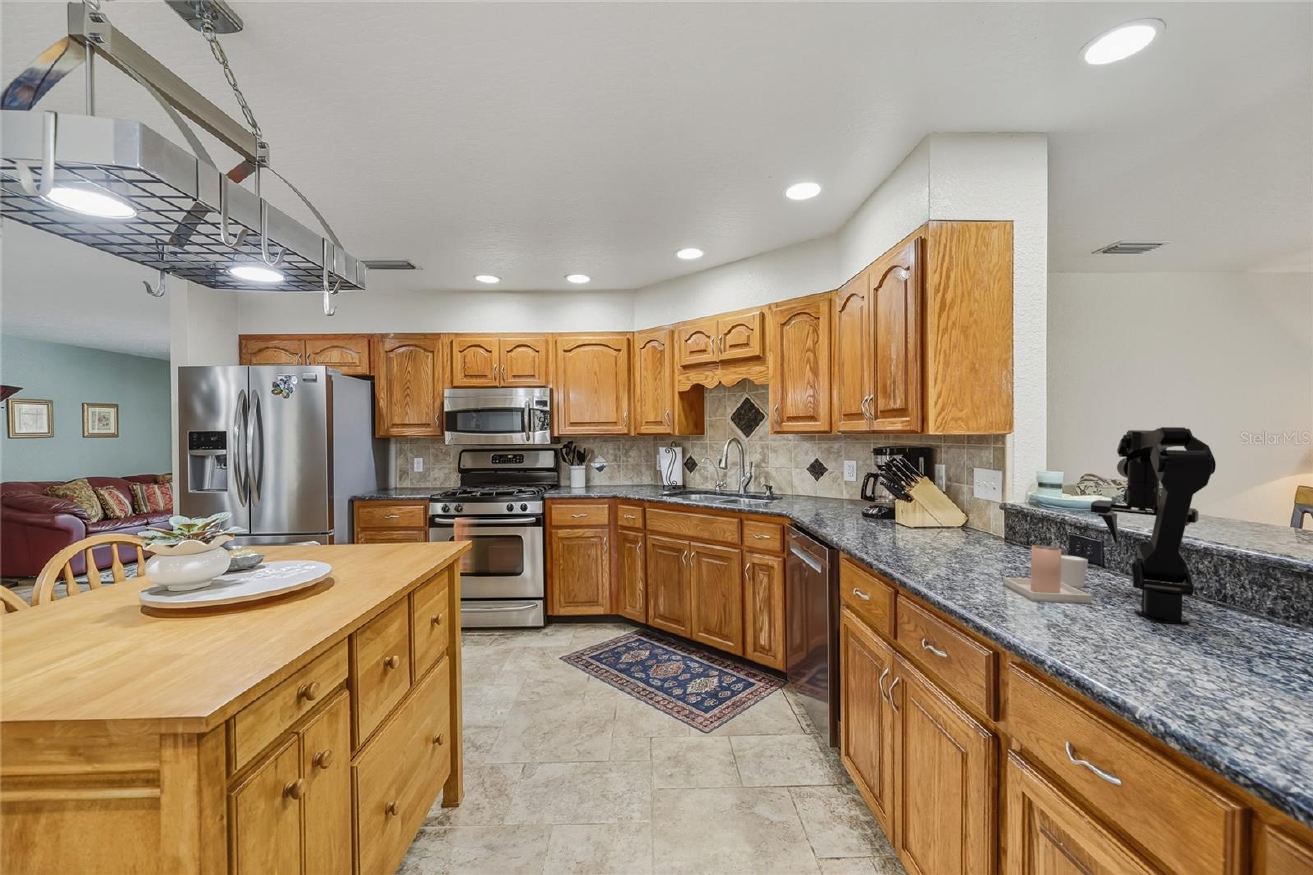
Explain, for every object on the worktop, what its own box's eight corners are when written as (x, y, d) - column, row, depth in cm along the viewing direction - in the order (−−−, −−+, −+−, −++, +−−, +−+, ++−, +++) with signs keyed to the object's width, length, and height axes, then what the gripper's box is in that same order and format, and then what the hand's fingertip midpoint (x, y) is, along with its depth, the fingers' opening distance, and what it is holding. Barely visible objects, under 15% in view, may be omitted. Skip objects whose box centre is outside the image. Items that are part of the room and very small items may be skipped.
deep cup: (1061, 597, 128) (1062, 551, 128) (1030, 592, 132) (1032, 547, 131) (1059, 591, 133) (1060, 547, 133) (1030, 586, 136) (1031, 543, 136)
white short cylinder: (1075, 580, 145) (1076, 555, 145) (1094, 588, 138) (1094, 561, 138) (1049, 579, 146) (1049, 554, 146) (1065, 586, 139) (1066, 560, 139)
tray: (1091, 603, 125) (1091, 595, 125) (1032, 601, 127) (1033, 593, 127) (1055, 587, 138) (1056, 579, 138) (1002, 585, 140) (1003, 577, 139)
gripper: (1202, 483, 127) (1200, 548, 127) (1101, 477, 141) (1100, 535, 141) (1196, 486, 120) (1193, 555, 120) (1091, 479, 134) (1089, 541, 134)
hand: (1141, 546), depth 129 cm, fingers open, 9 cm apart
